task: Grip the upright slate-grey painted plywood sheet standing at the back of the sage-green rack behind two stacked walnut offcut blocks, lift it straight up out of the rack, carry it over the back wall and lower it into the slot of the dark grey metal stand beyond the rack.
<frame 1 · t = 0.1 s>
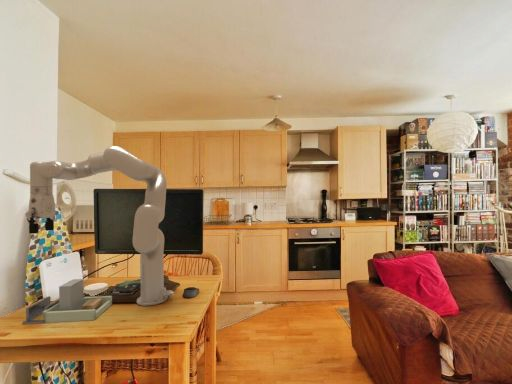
hand: (42, 231, 117), 31 cm above the table, fingers open, 9 cm apart
white fluted dish: (96, 293, 132), on the table
stand: (47, 314, 108), on the table
offcut upper: (92, 307, 109), point 2 cm above the table, touching offcut lower
offcut lower: (91, 313, 109), on the table, touching offcut upper
disk drive: (128, 291, 135), on the table
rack: (80, 312, 109), on the table
sheet: (72, 313, 108), on the table
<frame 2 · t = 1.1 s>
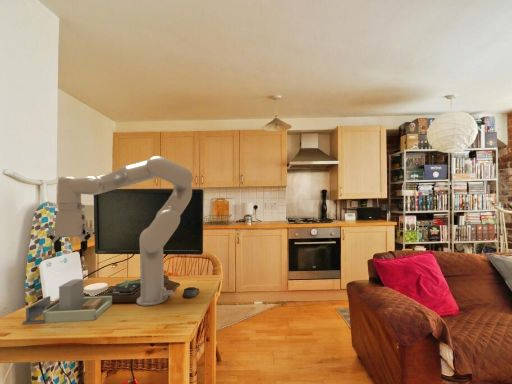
hand: (71, 251, 109), 24 cm above the table, fingers open, 9 cm apart
nothing on the table moved.
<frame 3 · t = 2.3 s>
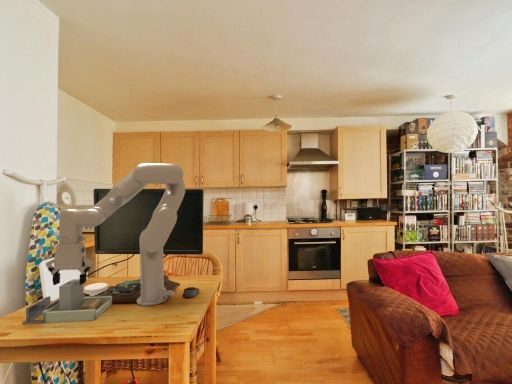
hand: (69, 283, 108), 12 cm above the table, fingers open, 9 cm apart
nothing on the table moved.
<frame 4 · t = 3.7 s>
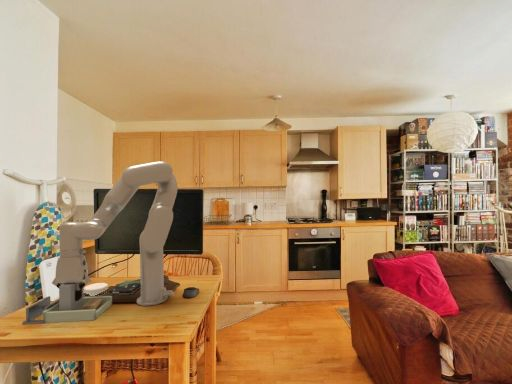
hand: (71, 299, 108), 5 cm above the table, fingers closed on sheet, 4 cm apart
sheet: (72, 313, 108), on the table, touching gripper
everything else where it was.
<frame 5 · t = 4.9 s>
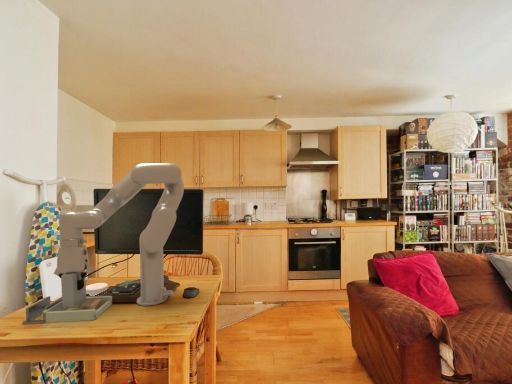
hand: (74, 289, 109), 9 cm above the table, fingers closed on sheet, 4 cm apart
offcut upper: (91, 307, 109), point 2 cm above the table
offcut lower: (92, 313, 109), on the table
sheet: (74, 302, 109), point 4 cm above the table, touching gripper
everything else where it was.
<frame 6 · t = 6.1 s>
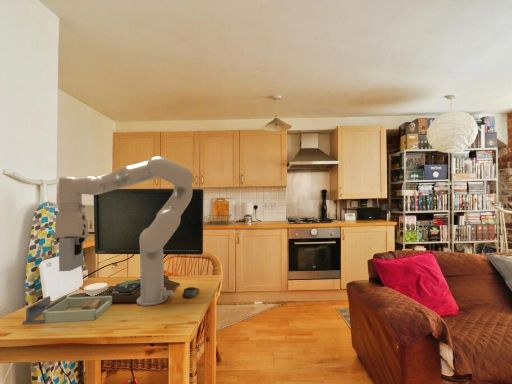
hand: (71, 254, 109), 23 cm above the table, fingers closed on sheet, 4 cm apart
offcut upper: (91, 308, 109), point 2 cm above the table, touching offcut lower
offcut lower: (93, 313, 109), on the table, touching offcut upper
sheet: (71, 267, 109), point 18 cm above the table, touching gripper
everything else where it was.
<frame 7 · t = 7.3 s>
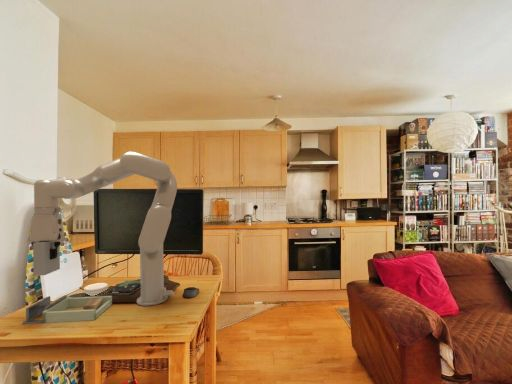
hand: (47, 258, 108), 22 cm above the table, fingers closed on sheet, 4 cm apart
sheet: (47, 272, 108), point 16 cm above the table, touching gripper
everything else where it was.
when the fingers open (7 cm above the table, at t = 10.6 s): sheet drops 1 cm, on the table.
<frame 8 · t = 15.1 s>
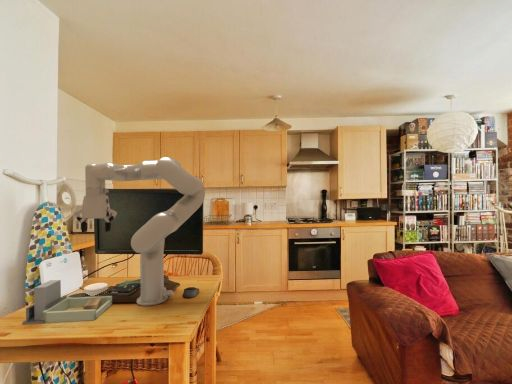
hand: (96, 231, 120), 30 cm above the table, fingers open, 9 cm apart
sheet: (48, 314, 108), on the table
everything else where it was.
at the end: sheet inside the target area (0.2 cm from its centre), on the table; sheet tilted 0°; the gripper is holding nothing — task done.
